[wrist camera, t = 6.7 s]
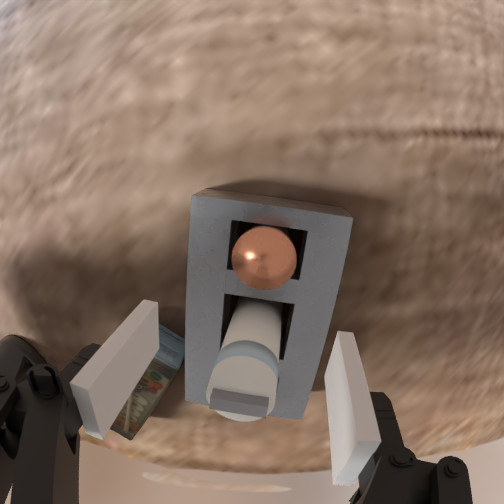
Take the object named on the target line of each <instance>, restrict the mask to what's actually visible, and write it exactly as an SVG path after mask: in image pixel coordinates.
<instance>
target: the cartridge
mask: <svg viewBox="0 0 504 504" xmlns="http://www.w3.org/2000/svg"><path fill="white" fill-rule="evenodd" d="M282 311H283V303H282V302H278V301H271V300H264V299H258V298H251V297H245V296H239V299H238V302H237V304H236V307H235V310H234V313H233V316H232V319H231V321H230V324H229V327H228V330H227V333H226V335H225V338H224V341H223V344H222V347H221V350H220V352H219V354H218V356H217V359H216V362H215V365H214V367H213V370H212V374H211V378H210V381H209V383H208V386H207V389H206V397H207V400H208V403H209V404H210V408H209V409H214V410H215V411H216V412H217V413H219V414H220V415H222V416H224V417H226V418H229V419H232V420H236V421H254V420H258V419H261V418H266V415H268V414H269V413H270V412H271V411H272V410H273V408H274V405H275V399H276V389H277V384H278V372H279V352H280V339H281V325H282Z"/></svg>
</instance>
